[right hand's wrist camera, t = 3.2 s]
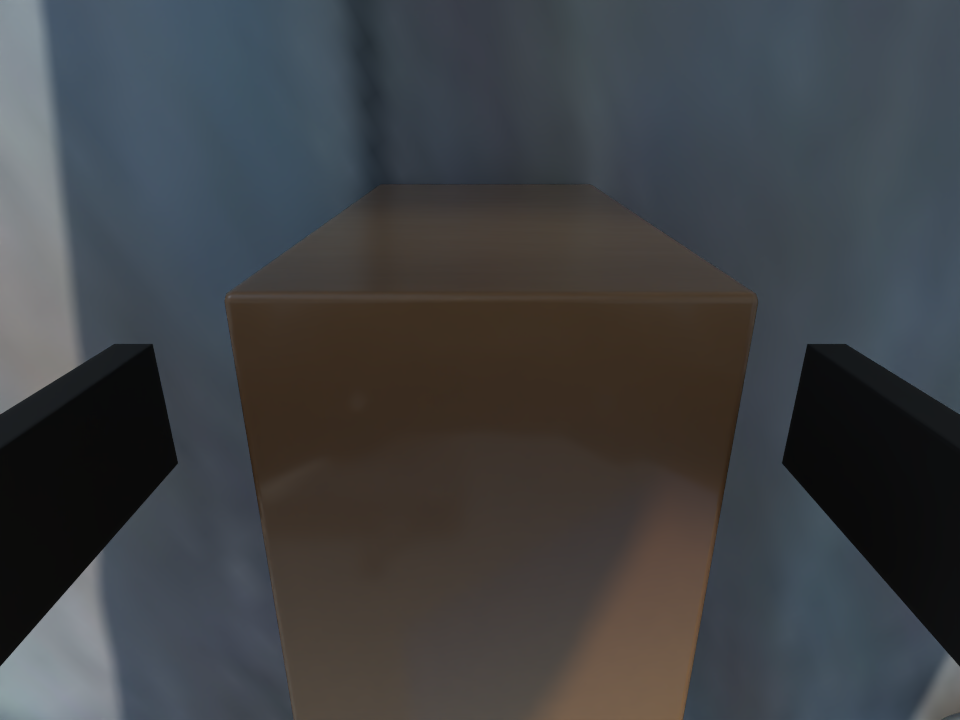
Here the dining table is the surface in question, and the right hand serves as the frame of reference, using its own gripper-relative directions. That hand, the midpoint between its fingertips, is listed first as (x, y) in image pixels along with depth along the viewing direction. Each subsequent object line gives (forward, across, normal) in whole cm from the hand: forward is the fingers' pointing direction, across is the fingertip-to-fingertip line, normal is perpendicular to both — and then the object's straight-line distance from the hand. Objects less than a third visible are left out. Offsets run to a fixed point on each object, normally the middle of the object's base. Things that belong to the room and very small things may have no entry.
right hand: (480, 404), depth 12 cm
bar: (+3, 0, -9) cm, 9 cm away
